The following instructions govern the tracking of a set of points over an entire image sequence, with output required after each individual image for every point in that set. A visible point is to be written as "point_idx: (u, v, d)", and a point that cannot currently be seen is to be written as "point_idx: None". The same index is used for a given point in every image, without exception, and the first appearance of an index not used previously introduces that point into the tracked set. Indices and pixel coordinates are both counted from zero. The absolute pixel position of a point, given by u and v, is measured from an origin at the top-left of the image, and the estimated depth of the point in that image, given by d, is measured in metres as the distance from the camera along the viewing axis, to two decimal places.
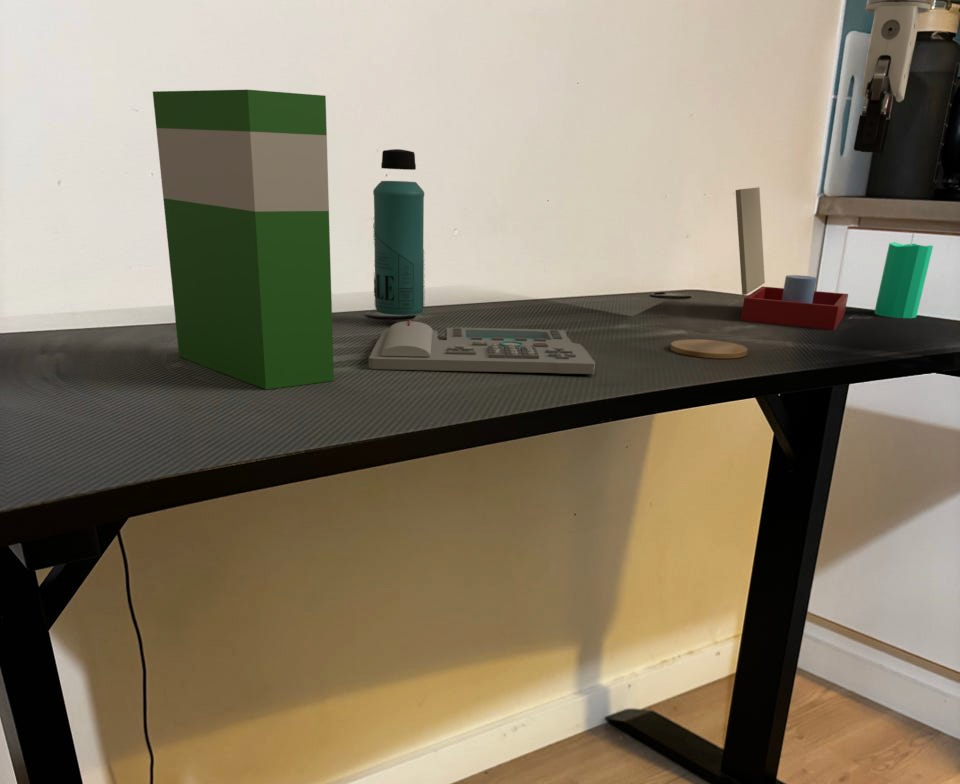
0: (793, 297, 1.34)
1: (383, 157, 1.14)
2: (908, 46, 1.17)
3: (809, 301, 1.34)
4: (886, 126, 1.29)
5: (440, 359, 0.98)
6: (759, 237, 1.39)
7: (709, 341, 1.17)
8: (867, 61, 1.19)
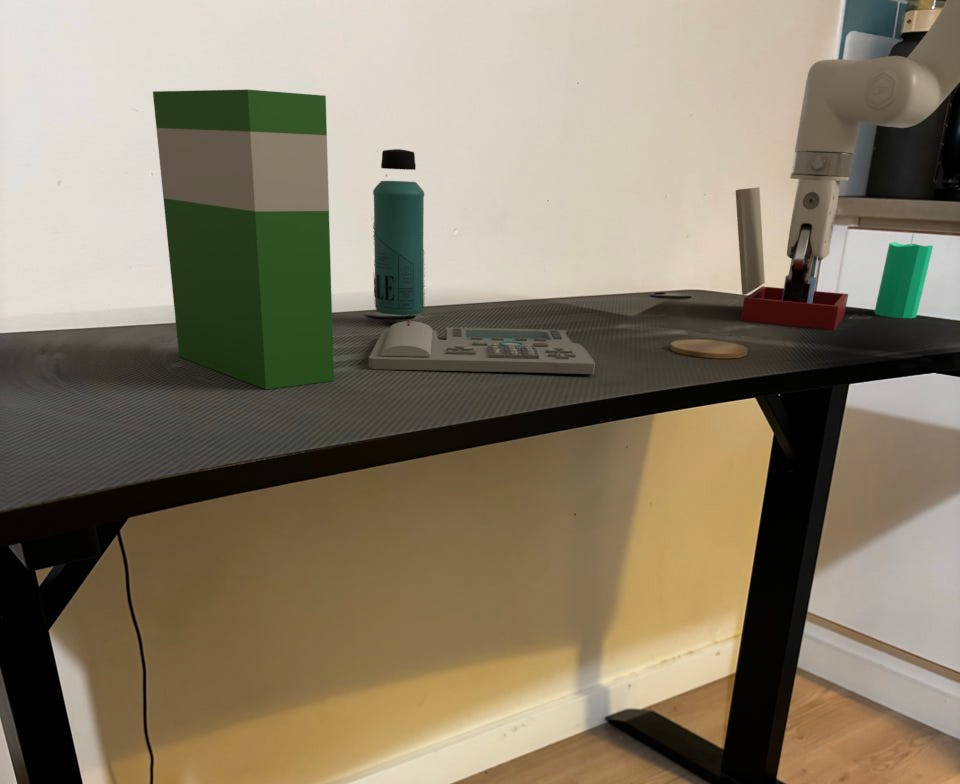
0: None
1: (383, 157, 1.14)
2: (827, 216, 1.26)
3: (809, 301, 1.34)
4: None
5: (440, 359, 0.98)
6: (759, 237, 1.39)
7: (709, 341, 1.17)
8: (791, 227, 1.29)
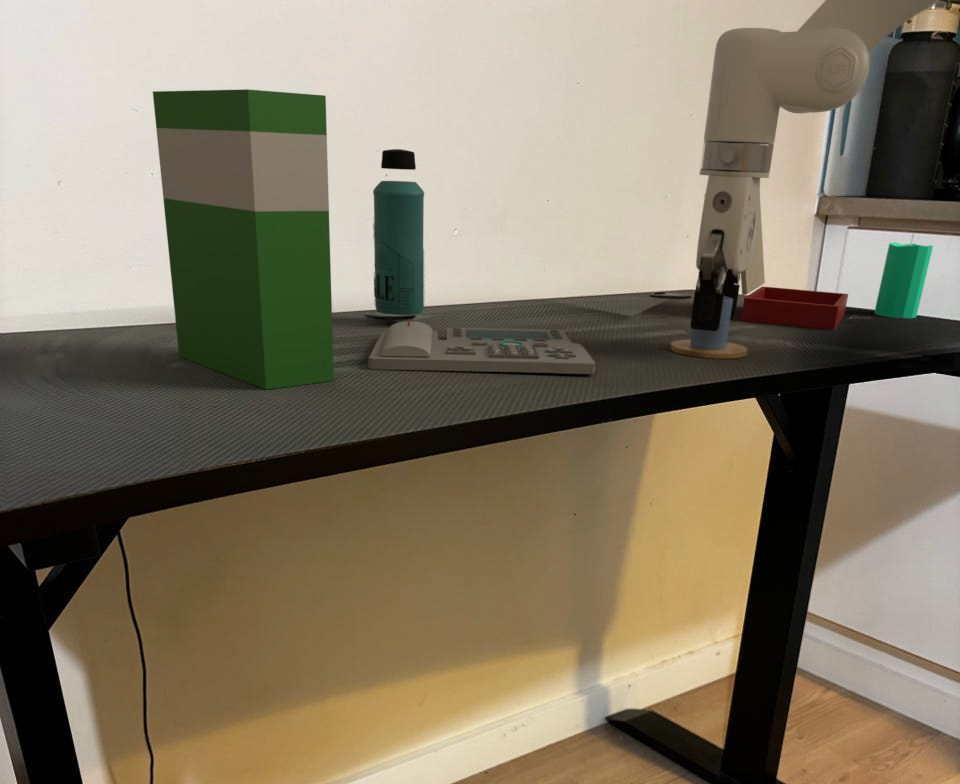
0: None
1: (383, 157, 1.14)
2: (742, 221, 1.04)
3: (724, 327, 1.12)
4: (734, 293, 1.15)
5: (440, 359, 0.98)
6: (759, 237, 1.39)
7: None
8: (699, 234, 1.06)
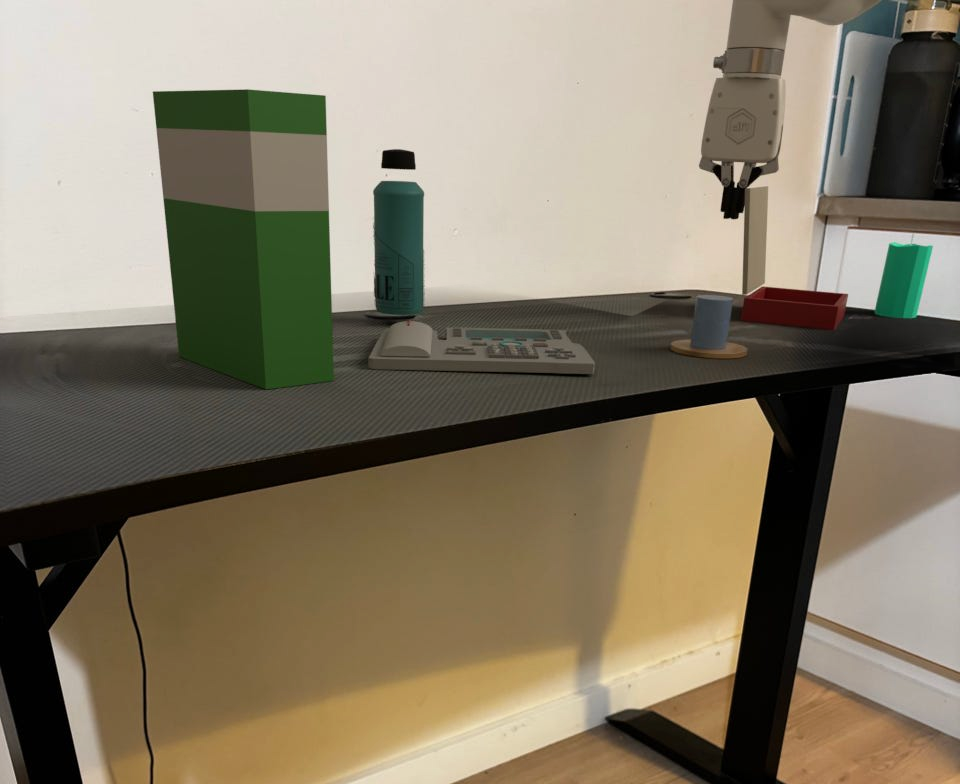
0: (705, 322, 1.12)
1: (383, 157, 1.14)
2: (708, 113, 1.29)
3: (724, 327, 1.12)
4: (733, 194, 1.33)
5: (440, 359, 0.98)
6: (763, 237, 1.39)
7: None
8: None
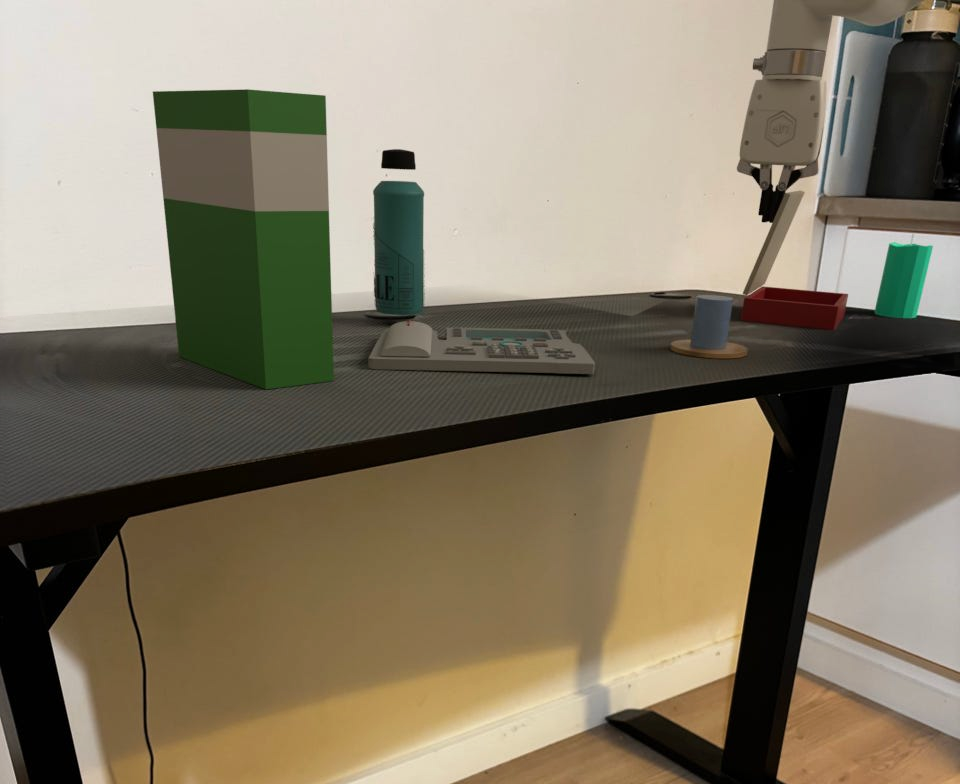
0: (705, 322, 1.12)
1: (383, 157, 1.14)
2: (747, 116, 1.27)
3: (724, 327, 1.12)
4: (771, 197, 1.31)
5: (440, 359, 0.98)
6: (781, 240, 1.38)
7: None
8: None
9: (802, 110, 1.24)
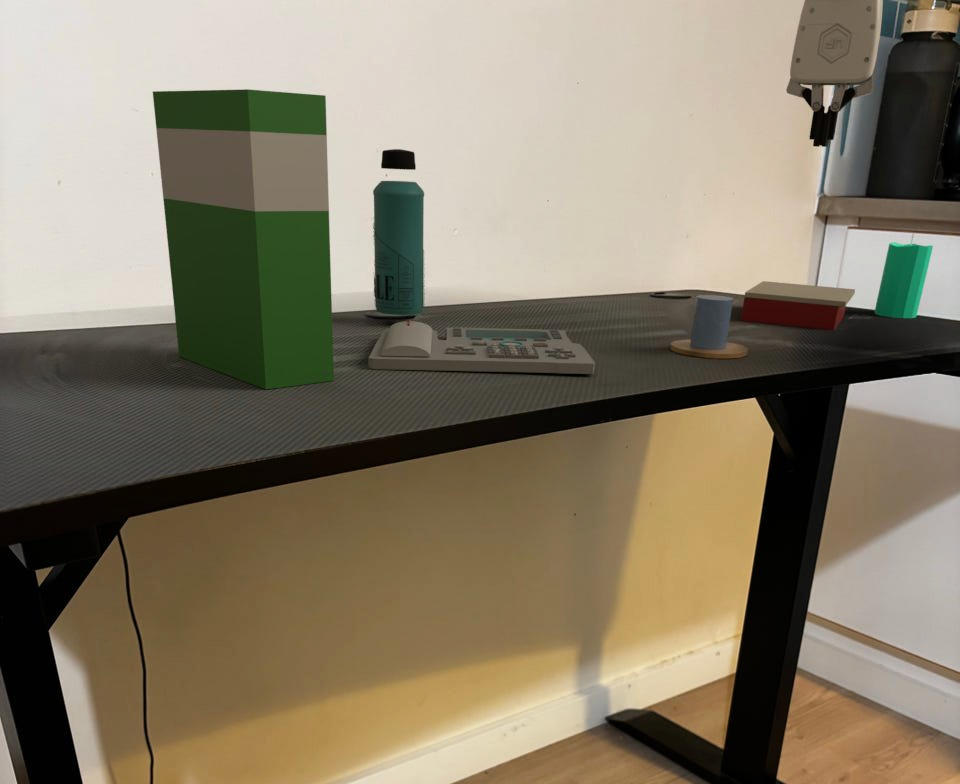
0: (705, 322, 1.12)
1: (383, 157, 1.14)
2: (798, 31, 1.21)
3: (724, 327, 1.12)
4: (824, 119, 1.25)
5: (440, 359, 0.98)
6: None
7: None
8: None
9: (858, 22, 1.18)
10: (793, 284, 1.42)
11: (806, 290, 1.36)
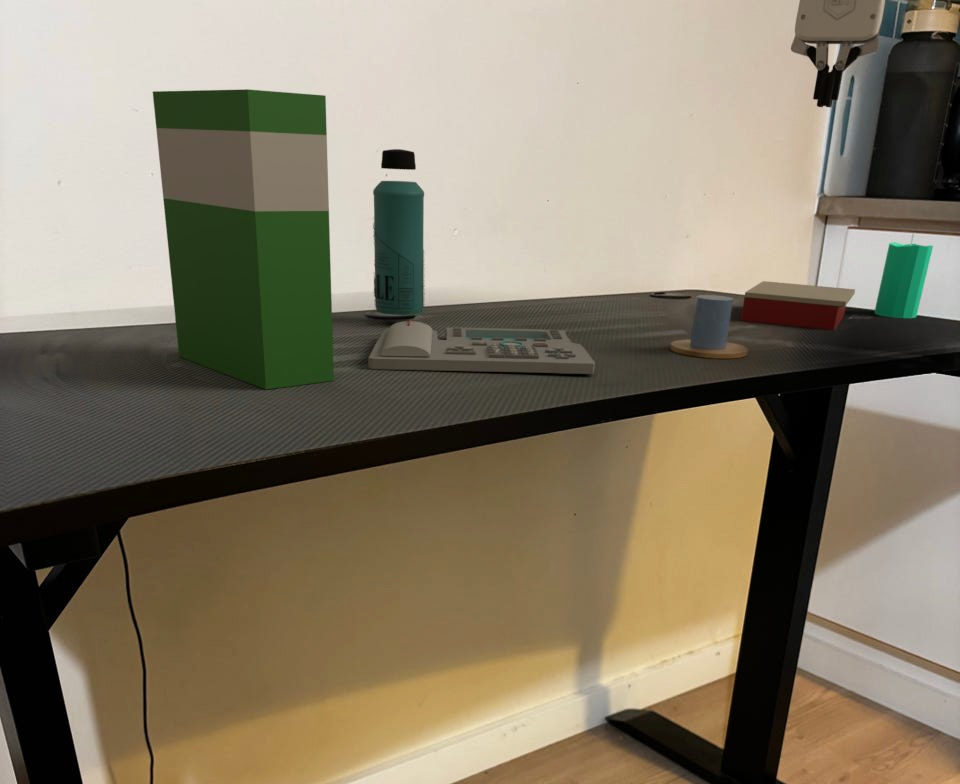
0: (705, 322, 1.12)
1: (383, 157, 1.14)
2: None
3: (724, 327, 1.12)
4: (828, 78, 1.23)
5: (440, 359, 0.98)
6: None
7: None
8: None
9: None
10: (793, 284, 1.42)
11: (806, 290, 1.36)
